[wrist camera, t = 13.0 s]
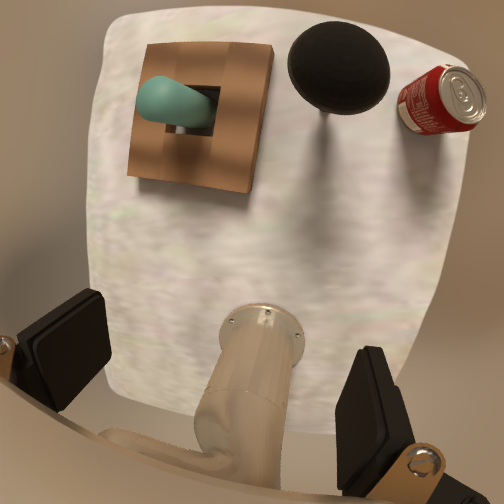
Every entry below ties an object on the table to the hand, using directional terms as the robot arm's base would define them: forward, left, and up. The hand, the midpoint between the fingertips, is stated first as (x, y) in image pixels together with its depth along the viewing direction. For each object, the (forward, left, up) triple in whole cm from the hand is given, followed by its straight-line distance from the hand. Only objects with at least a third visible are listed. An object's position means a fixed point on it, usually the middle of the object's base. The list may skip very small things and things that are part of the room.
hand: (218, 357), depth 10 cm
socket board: (+10, +12, -28) cm, 33 cm away
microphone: (+13, -3, -29) cm, 32 cm away
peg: (+10, +12, -29) cm, 33 cm away
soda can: (+16, -15, -29) cm, 36 cm away
